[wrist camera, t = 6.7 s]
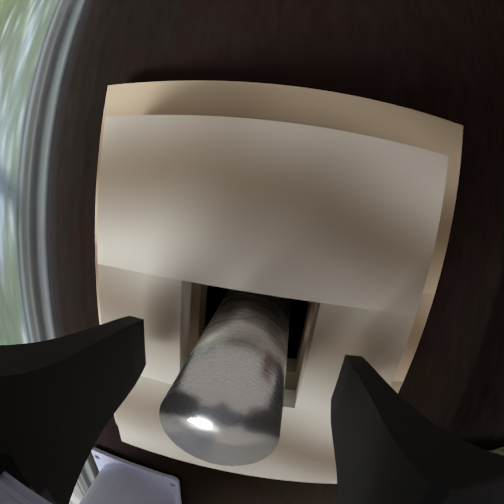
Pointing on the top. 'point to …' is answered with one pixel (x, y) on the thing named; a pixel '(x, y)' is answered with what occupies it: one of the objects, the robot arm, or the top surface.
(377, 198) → the collar stand
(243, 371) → the tube
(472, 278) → the top surface
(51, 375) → the robot arm
